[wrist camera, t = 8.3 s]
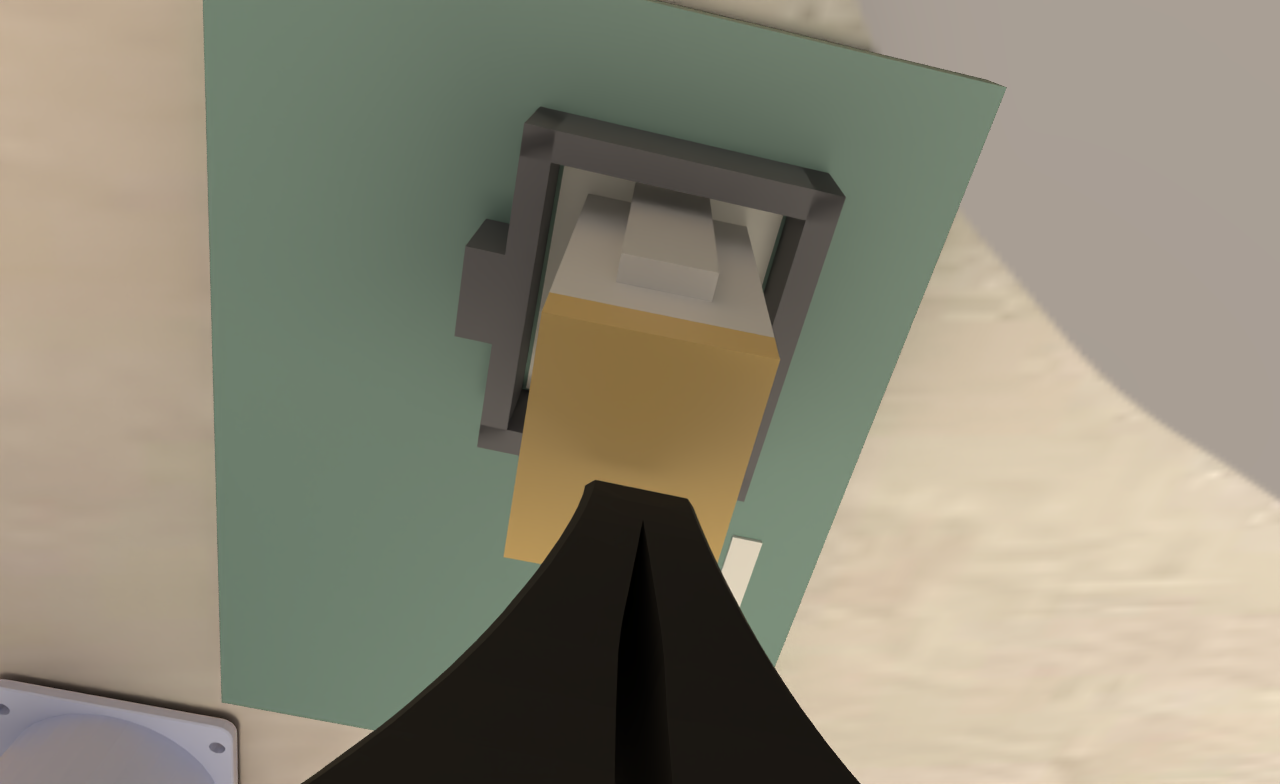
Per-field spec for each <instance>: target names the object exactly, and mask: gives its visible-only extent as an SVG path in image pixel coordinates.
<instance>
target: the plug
mask: <svg viewBox="0 0 1280 784" xmlns="http://www.w3.org/2000/svg"><path fill="white" fill-rule="evenodd" d="M779 362H780V357H779V353H778V349H777V345H776V341H775V337H774V333H773V329H772V325H771V321H770V318H769V314H768V310H767V306H766V302H765V298H764V294H763V290H762V286H761V282H760V278H759V274H758V270H757V266H756V262H755V258H754V254H753V250H752V246H751V242H750V238H749V234H748V230H747V227H746V226H741V225H736V224H731V223H726V222H722V221H717V220H712V212H711V204H710V199H709V198H705V197H700V196H696V195H692V194H687V193H683V192H678V191H674V190H670V189H665V188H661V187H656V186H652V185H648V184H643V183H639V182H636V183H635V188H634V193H633V198H632V203H631V202H626V201H621V200H617V199H612V198H607V197H602V196H598V195H593V194H588V196H587V198H586V201H585V203H584V206H583V208H582V211H581V213H580V216H579V218H578V221H577V223H576V226H575V228H574V231H573V234H572V236H571V239H570V241H569V244H568V246H567V249H566V251H565V254H564V256H563V259H562V261H561V264H560V266H559V269H558V272H557V274H556V277H555V279H554V282H553V284H552V287H551V289H550V292H549V294H548V297H547V299H546V302H545V305H544V307H543V310H542V312H541V319H540V325H539V332H538V338H537V344H536V351H535V357H534V364H533V370H532V377H531V383H530V390H529V396H528V402H527V409H526V415H525V422H524V428H523V435H522V441H521V447H520V454H519V460H518V467H517V473H516V480H515V486H514V492H513V499H512V505H511V512H510V518H509V525H508V531H507V537H506V544H505V550H504V557H505V558H511V559H516V560H522V561H527V562H532V563H538V564H542V562H543V561H544V560H545V558H546V557H547V555H548V554H549V553H550V551H551V550H552V548H553V547H554V545H555V544H556V543H557V541H558V540H559V538H560V537H561V535H562V533H563V532H564V530H565V528H566V527H567V525H568V523H569V522H570V520H571V518H572V517H573V515H574V513H575V511H576V509H577V507H578V505H579V502H580V500H581V498H582V495H583V492H584V488H585V485H587V484H588V483H590V482H592V481H594V480H599V481H604V482H609V483H614V484H619V485H624V486H629V487H634V488H639V489H643V490H648V491H653V492H658V493H663V494H668V495H673V496H678V497H683V498H687V499H688V500H689V501H690V503H691V504H692V506H693V508H694V510H695V513H696V515H697V518H698V520H699V523H700V525H701V527H702V530H703V532H704V535H705V537H706V539H707V541H708V544H709V546H710V548H711V550H712V553H713V555H714V557H715V559H716V561H717V563H718V560H719V556H720V553H721V550H722V547H723V543H724V540H725V537H726V534H727V531H728V527H729V524H730V521H731V518H732V514H733V511H734V508H735V505H736V501H737V498H738V495H739V492H740V488H741V485H742V482H743V479H744V475H745V472H746V469H747V466H748V463H749V459H750V456H751V453H752V450H753V446H754V443H755V440H756V437H757V433H758V430H759V427H760V424H761V420H762V417H763V414H764V411H765V407H766V404H767V401H768V398H769V394H770V391H771V388H772V385H773V382H774V378H775V375H776V372H777V369H778V365H779Z"/></svg>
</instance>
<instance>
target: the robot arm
mask: <svg viewBox="0 0 1280 784" xmlns="http://www.w3.org/2000/svg"><path fill="white" fill-rule="evenodd" d="M0 784H238V759H237V730H236V727H235V726H234V725H233V723H231V722H230V721H228V720H225V719H222V718H216V717H211V716H205V715H200V714H194V713H189V712H183V711H178V710H172V709H167V708H161V707H156V706H150V705H145V704H139V703H134V702H128V701H123V700H117V699H112V698H106V697H101V696H95V695H90V694H84V693H79V692H73V691H68V690H62V689H57V688H51V687H46V686H40V685H35V684H29V683H24V682H18V681H13V680H8V679H0ZM301 784H860V783H859V781H858V780H857V779H856V778H855V777H854V776H853V775H852V773H851V772H850V771H849V770H848V769H847V767H846V766H845V765H844V764H843V762H842V761H841V760H840V759H839V758H838V756H837V755H836V754H835V753H834V751H833V750H832V749H831V748H830V746H829V745H828V744H827V742H826V741H825V740H824V739H823V737H822V736H821V734H820V733H819V732H818V730H817V729H816V728H815V726H814V725H813V724H812V722H811V721H810V719H809V718H808V717H807V715H806V714H805V713H804V711H803V710H802V709H801V707H800V706H799V704H798V703H797V701H796V700H795V698H794V697H793V695H792V694H791V693H790V691H789V689H788V688H787V686H786V685H785V683H784V682H783V680H782V679H781V677H780V676H779V674H778V672H777V671H776V669H775V668H774V666H773V664H772V663H771V661H770V659H769V658H768V656H767V655H766V653H765V651H764V650H763V648H762V646H761V645H760V643H759V641H758V640H757V638H756V636H755V634H754V633H753V631H752V629H751V627H750V626H749V624H748V622H747V620H746V618H745V616H744V614H743V613H742V611H741V609H740V607H739V605H738V603H737V601H736V599H735V597H734V596H733V594H732V592H731V590H730V588H729V586H728V584H727V582H726V580H725V578H724V576H723V574H722V572H721V570H720V568H719V566H718V563H717V561H716V559H715V557H714V555H713V553H712V550H711V548H710V546H709V544H708V541H707V539H706V537H705V535H704V532H703V530H702V527H701V525H700V523H699V520H698V518H697V515H696V513H695V510H694V508H693V506H692V504H691V503H690V501H689V500H688V499H687V498H683V497H678V496H673V495H668V494H663V493H658V492H653V491H648V490H643V489H639V488H634V487H629V486H624V485H619V484H614V483H609V482H604V481H599V480H594V481H592V482H590V483H588V484H587V485H585V488H584V492H583V495H582V498H581V500H580V502H579V505H578V507H577V509H576V511H575V513H574V515H573V517H572V518H571V520H570V522H569V523H568V525H567V527H566V528H565V530H564V532H563V533H562V535H561V537H560V538H559V540H558V541H557V543H556V544H555V545H554V547H553V548H552V550H551V551H550V553H549V554H548V555H547V557H546V558H545V560H544V561H543V562H542V564H541V565H540V567H539V568H538V570H537V571H536V572H535V573H534V575H533V576H532V577H531V579H530V580H529V581H528V582H527V583H526V585H525V586H524V587H523V588H522V589H521V591H520V592H519V593H518V594H517V595H516V597H515V598H514V599H513V600H512V601H511V603H510V604H509V605H508V606H507V607H506V609H505V610H504V611H503V612H502V613H501V615H500V616H499V617H498V618H497V619H496V620H495V621H494V622H493V623H492V624H491V625H490V627H489V628H488V629H487V630H486V631H485V632H484V633H483V634H482V635H481V636H480V637H479V638H478V639H477V640H476V641H475V642H474V643H473V644H472V645H471V646H470V647H469V648H468V649H467V650H466V651H465V652H464V653H463V654H462V655H461V656H460V657H459V658H458V659H457V660H456V661H455V662H454V663H453V664H452V665H451V666H450V667H449V668H448V669H447V670H445V671H444V672H443V673H442V674H441V675H440V676H439V677H438V678H436V679H435V680H434V681H433V682H432V683H431V684H430V685H429V686H427V687H426V688H425V689H424V690H423V691H422V692H421V693H419V694H418V695H417V696H416V697H415V698H414V699H413V700H412V701H410V702H409V703H408V704H407V705H406V706H404V707H403V708H402V709H401V710H400V711H398V712H397V713H396V714H395V715H394V716H392V717H391V718H390V719H389V720H387V721H386V722H385V723H384V724H382V725H381V726H380V727H378V728H377V729H376V730H374V731H373V732H372V733H370V734H369V735H368V736H366V737H365V738H364V739H362V740H361V741H359V742H358V743H357V744H355V745H354V746H353V747H351V748H350V749H349V750H347V751H346V752H344V753H343V754H342V755H340V756H339V757H338V758H336V759H335V760H334V761H332V762H331V763H330V764H328V765H327V766H325V767H324V768H323V769H321V770H320V771H319V772H317V773H316V774H315V775H313V776H312V777H310V778H309V779H307V780H306V781H304V782H303V783H301Z"/></svg>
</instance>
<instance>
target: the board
mask: <svg viewBox="0 0 1280 784" xmlns="http://www.w3.org/2000/svg"><path fill="white" fill-rule="evenodd" d="M203 24H204V61H205V98H206V135H207V172H208V210H209V247H210V284H211V321H212V358H213V395H214V433H215V470H216V507H217V544H218V581H219V618H220V656H221V693H222V703H228V704H233V705H239V706H244V707H250V708H255V709H261V710H266V711H272V712H277V713H282V714H288V715H293V716H299V717H304V718H310V719H315V720H321V721H326V722H332V723H337V724H342V725H348V726H353V727H359V728H364V729H370V730H376V729H377V728H378V727H380V726H381V725H382V724H384V723H385V722H386V721H387V720H389V719H390V718H391V717H392V716H394V715H395V714H396V713H397V712H398V711H400V710H401V709H402V708H403V707H404V706H406V705H407V704H408V703H409V702H410V701H412V700H413V699H414V698H415V697H416V696H417V695H418V694H419V693H421V692H422V691H423V690H424V689H425V688H426V687H427V686H429V685H430V684H431V683H432V682H433V681H434V680H435V679H436V678H438V677H439V676H440V675H441V674H442V673H443V672H444V671H445V670H447V669H448V668H449V667H450V666H451V665H452V664H453V663H454V662H455V661H456V660H457V659H458V658H459V657H460V656H461V655H462V654H463V653H464V652H465V651H466V650H467V649H468V648H469V647H470V646H471V645H472V644H473V643H474V642H475V641H476V640H477V639H478V638H479V637H480V636H481V635H482V634H483V633H484V632H485V631H486V630H487V629H488V628H489V627H490V625H491V624H492V623H493V622H494V621H495V620H496V619H497V618H498V617H499V616H500V615H501V613H502V612H503V611H504V610H505V609H506V607H507V606H508V605H509V604H510V603H511V601H512V600H513V599H514V598H515V597H516V595H517V594H518V593H519V592H520V591H521V589H522V588H523V587H524V586H525V585H526V583H527V582H528V581H529V580H530V579H531V577H532V576H533V575H534V573H535V572H536V571H537V570H538V568H539V567H540V565H541V564H538V563H532V562H527V561H522V560H516V559H511V558H505V557H504V550H505V544H506V537H507V531H508V525H509V518H510V512H511V505H512V499H513V492H514V486H515V480H516V473H517V467H518V460H519V454H520V447H521V441H522V435H523V428H524V422H525V415H526V409H527V402H528V396H529V390H530V383H531V377H532V370H533V364H534V357H535V351H536V344H537V338H538V332H539V325H540V319H541V312H542V310H543V307H544V305H545V302H546V299H547V297H548V294H549V292H550V289H551V287H552V284H553V282H554V279H555V277H556V274H557V272H558V269H559V266H560V264H561V261H562V259H563V256H564V254H565V251H566V249H567V246H568V244H569V241H570V239H571V236H572V234H573V231H574V228H575V226H576V223H577V221H578V218H579V216H580V213H581V211H582V208H583V206H584V203H585V201H586V198H587V196H588V194H593V195H598V196H602V197H607V198H612V199H617V200H621V201H626V202H631V203H632V198H633V193H634V188H635V183H636V182H639V183H643V184H648V185H652V186H656V187H661V188H665V189H670V190H674V191H678V192H683V193H687V194H692V195H696V196H700V197H705V198H709V199H710V204H711V212H712V220H717V221H722V222H726V223H731V224H736V225H741V226H746V227H747V230H748V234H749V238H750V242H751V246H752V250H753V254H754V258H755V262H756V266H757V270H758V274H759V278H760V282H761V286H762V290H763V294H764V298H765V302H766V306H767V310H768V314H769V318H770V321H771V325H772V329H773V333H774V337H775V341H776V345H777V349H778V353H779V357H780V362H779V365H778V369H777V372H776V375H775V378H774V382H773V385H772V388H771V391H770V394H769V398H768V401H767V404H766V407H765V411H764V414H763V417H762V420H761V424H760V427H759V430H758V433H757V437H756V440H755V443H754V446H753V450H752V453H751V456H750V459H749V463H748V466H747V469H746V472H745V475H744V479H743V482H742V485H741V488H740V492H739V495H738V498H737V501H736V505H735V508H734V511H733V514H732V518H731V521H730V524H729V527H728V531H727V534H726V537H725V540H724V543H723V547H722V550H721V553H720V556H719V560H718V566H719V568H720V570H721V572H722V574H723V576H724V578H725V580H726V582H727V584H728V586H729V588H730V590H731V592H732V594H733V596H734V597H735V599H736V601H737V603H738V605H739V607H740V609H741V611H742V613H743V614H744V616H745V618H746V620H747V622H748V624H749V626H750V627H751V629H752V631H753V633H754V634H755V636H756V638H757V640H758V641H759V643H760V645H761V646H762V648H763V650H764V651H765V653H766V655H767V656H768V658H769V659H770V661H771V663H772V664H773V666H774V667H775V665H776V662H777V660H778V657H779V655H780V652H781V650H782V647H783V645H784V642H785V640H786V637H787V635H788V632H789V630H790V627H791V625H792V622H793V620H794V617H795V615H796V612H797V610H798V607H799V605H800V603H801V600H802V598H803V595H804V593H805V590H806V588H807V585H808V583H809V580H810V578H811V575H812V573H813V570H814V568H815V565H816V563H817V560H818V558H819V555H820V553H821V550H822V548H823V545H824V543H825V540H826V538H827V535H828V533H829V530H830V528H831V525H832V523H833V520H834V518H835V515H836V513H837V510H838V508H839V505H840V503H841V500H842V498H843V495H844V493H845V490H846V488H847V485H848V483H849V480H850V478H851V475H852V473H853V470H854V468H855V465H856V463H857V460H858V458H859V455H860V453H861V450H862V448H863V445H864V443H865V440H866V438H867V435H868V433H869V430H870V428H871V425H872V423H873V420H874V418H875V415H876V413H877V410H878V408H879V405H880V403H881V400H882V398H883V395H884V393H885V390H886V388H887V385H888V383H889V380H890V378H891V375H892V373H893V370H894V368H895V365H896V363H897V360H898V358H899V355H900V353H901V350H902V348H903V345H904V343H905V340H906V338H907V335H908V333H909V330H910V328H911V325H912V323H913V320H914V318H915V315H916V313H917V310H918V308H919V305H920V303H921V300H922V298H923V295H924V293H925V290H926V288H927V285H928V283H929V280H930V278H931V275H932V273H933V270H934V268H935V265H936V263H937V260H938V258H939V255H940V253H941V250H942V248H943V245H944V243H945V240H946V238H947V235H948V233H949V230H950V228H951V225H952V223H953V220H954V218H955V215H956V213H957V210H958V208H959V205H960V203H961V200H962V198H963V195H964V193H965V190H966V187H967V185H968V183H969V180H970V177H971V175H972V173H973V170H974V168H975V165H976V163H977V160H978V158H979V155H980V153H981V150H982V148H983V145H984V143H985V140H986V138H987V135H988V133H989V130H990V128H991V125H992V123H993V120H994V118H995V115H996V113H997V110H998V108H999V105H1000V103H1001V100H1002V98H1003V95H1004V93H1005V90H1006V87H1004V86H1002V85H999V84H996V83H994V82H991V81H988V80H985V79H981V78H977V77H973V76H969V75H965V74H961V73H956V72H952V71H948V70H944V69H940V68H936V67H931V66H927V65H923V64H919V63H915V62H911V61H907V60H902V59H898V58H894V57H890V56H886V55H882V54H878V53H874V52H869V51H865V50H861V49H857V48H853V47H849V46H844V45H840V44H836V43H832V42H828V41H824V40H820V39H815V38H811V37H807V36H803V35H799V34H795V33H791V32H786V31H782V30H778V29H774V28H770V27H766V26H762V25H757V24H753V23H749V22H745V21H741V20H737V19H733V18H728V17H724V16H720V15H716V14H712V13H708V12H704V11H699V10H695V9H691V8H687V7H683V6H679V5H675V4H670V3H666V2H662V1H658V0H203Z"/></svg>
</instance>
